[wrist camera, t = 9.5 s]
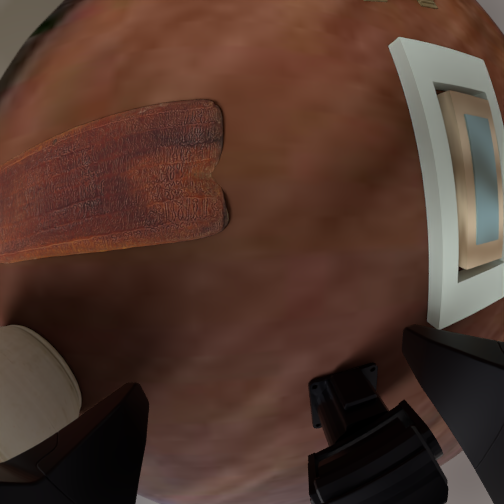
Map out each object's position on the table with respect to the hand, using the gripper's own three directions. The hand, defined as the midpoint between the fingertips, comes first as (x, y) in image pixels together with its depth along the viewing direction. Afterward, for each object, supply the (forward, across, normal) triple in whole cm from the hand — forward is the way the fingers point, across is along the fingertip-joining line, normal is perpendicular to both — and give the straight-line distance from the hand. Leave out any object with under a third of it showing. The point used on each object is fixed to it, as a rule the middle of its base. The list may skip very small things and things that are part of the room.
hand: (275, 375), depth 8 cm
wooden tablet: (+13, +14, -9) cm, 21 cm away
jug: (+12, +25, +7) cm, 29 cm away
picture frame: (+12, -21, -4) cm, 25 cm away
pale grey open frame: (+12, -21, -4) cm, 24 cm away
